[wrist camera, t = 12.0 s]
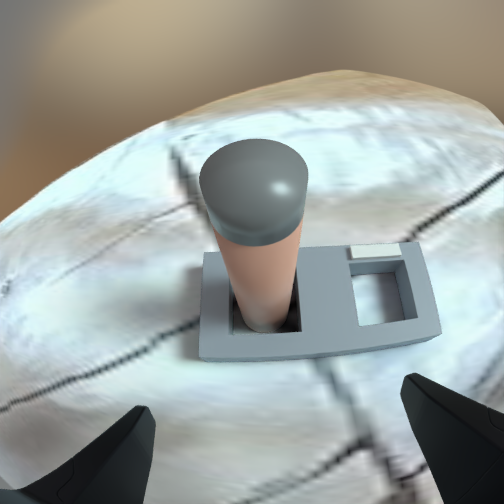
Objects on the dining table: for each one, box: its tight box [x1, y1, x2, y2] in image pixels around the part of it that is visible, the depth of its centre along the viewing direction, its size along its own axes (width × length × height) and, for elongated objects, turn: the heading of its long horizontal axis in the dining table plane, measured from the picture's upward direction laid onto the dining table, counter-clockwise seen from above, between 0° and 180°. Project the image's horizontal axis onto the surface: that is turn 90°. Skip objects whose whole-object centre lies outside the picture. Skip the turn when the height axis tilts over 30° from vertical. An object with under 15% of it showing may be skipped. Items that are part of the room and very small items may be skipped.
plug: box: [199, 139, 308, 333], centre depth 17 cm, size 4×4×16 cm
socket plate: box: [199, 242, 442, 362], centre depth 22 cm, size 20×9×3 cm, turn 91°
